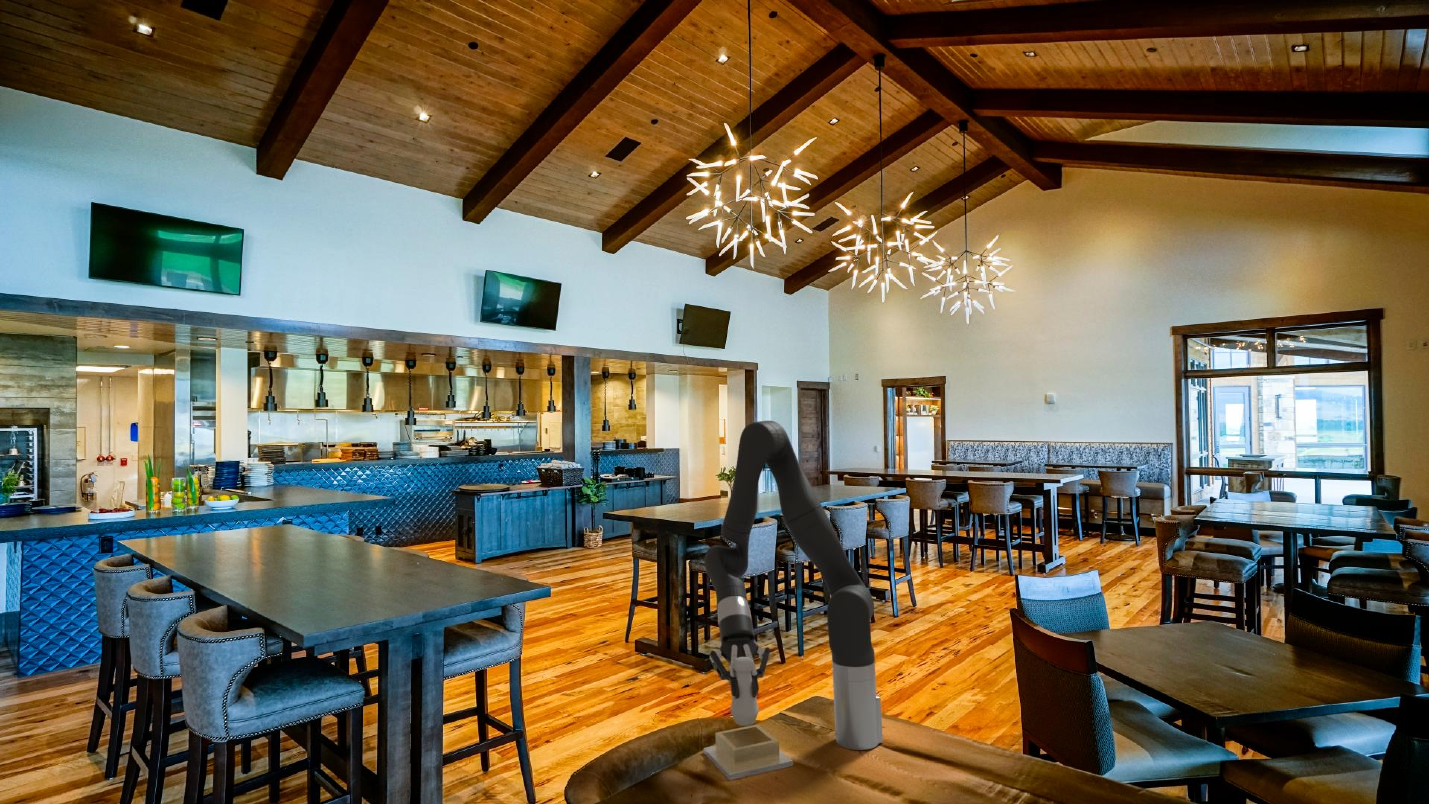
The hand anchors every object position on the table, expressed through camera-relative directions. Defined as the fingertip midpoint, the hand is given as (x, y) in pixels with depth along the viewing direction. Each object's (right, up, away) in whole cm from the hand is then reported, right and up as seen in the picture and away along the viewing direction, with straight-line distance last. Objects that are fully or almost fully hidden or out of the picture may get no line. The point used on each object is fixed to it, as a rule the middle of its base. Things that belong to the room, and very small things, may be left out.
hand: (745, 696), depth 144 cm
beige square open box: (0, -14, +1) cm, 14 cm away
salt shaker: (0, -6, +2) cm, 6 cm away
